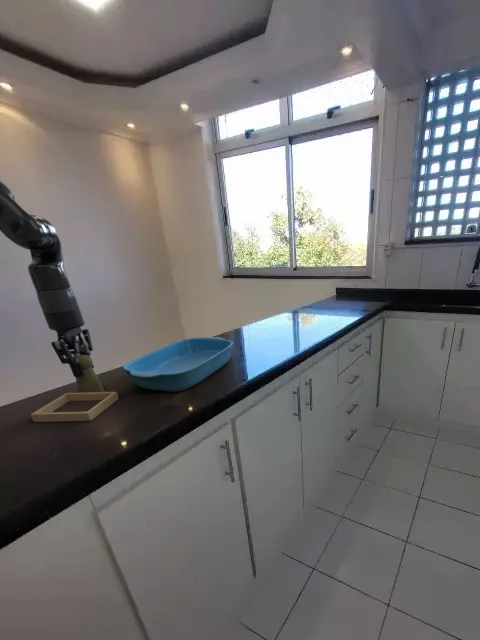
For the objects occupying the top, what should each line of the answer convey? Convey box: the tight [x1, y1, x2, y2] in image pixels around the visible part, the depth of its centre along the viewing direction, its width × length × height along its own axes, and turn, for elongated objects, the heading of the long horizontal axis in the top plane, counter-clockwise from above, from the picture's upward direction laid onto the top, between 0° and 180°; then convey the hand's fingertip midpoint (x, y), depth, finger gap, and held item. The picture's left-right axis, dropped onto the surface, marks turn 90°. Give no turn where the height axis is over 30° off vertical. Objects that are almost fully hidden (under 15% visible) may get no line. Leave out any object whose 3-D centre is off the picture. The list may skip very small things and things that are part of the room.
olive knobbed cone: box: [73, 354, 106, 393], centre depth 84 cm, size 6×6×11 cm
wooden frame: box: [29, 391, 119, 423], centre depth 76 cm, size 14×12×3 cm
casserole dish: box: [122, 336, 234, 393], centre depth 96 cm, size 37×22×7 cm, turn 163°
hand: (84, 372), depth 84 cm, fingers closed on olive knobbed cone, 5 cm apart
